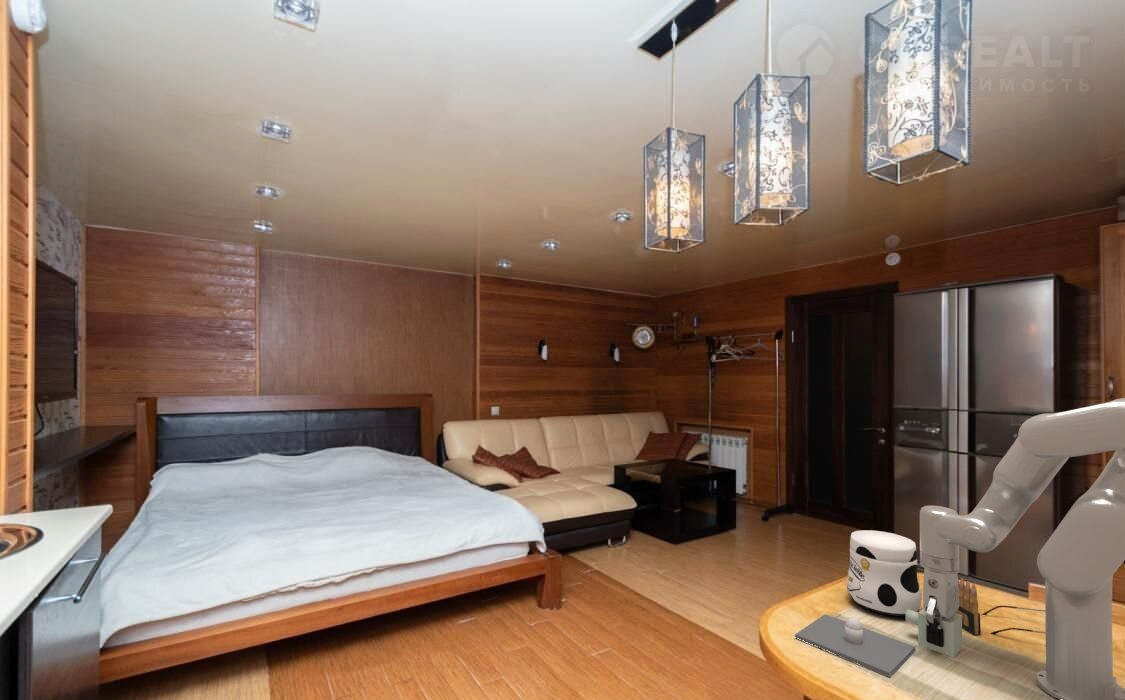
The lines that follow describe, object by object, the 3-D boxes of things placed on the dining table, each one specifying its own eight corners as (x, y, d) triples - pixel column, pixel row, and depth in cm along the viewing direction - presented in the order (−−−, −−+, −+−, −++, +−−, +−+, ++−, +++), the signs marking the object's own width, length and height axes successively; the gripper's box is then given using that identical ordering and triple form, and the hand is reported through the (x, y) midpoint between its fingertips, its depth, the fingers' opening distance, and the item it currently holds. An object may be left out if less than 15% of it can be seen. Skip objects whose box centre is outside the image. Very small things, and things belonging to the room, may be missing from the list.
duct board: (915, 651, 120) (915, 624, 120) (889, 677, 109) (889, 648, 110) (825, 617, 135) (825, 594, 135) (795, 638, 125) (795, 612, 125)
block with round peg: (962, 647, 122) (961, 614, 122) (953, 657, 117) (953, 624, 117) (912, 630, 129) (912, 599, 129) (902, 639, 125) (902, 607, 125)
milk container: (832, 597, 147) (831, 532, 147) (876, 588, 153) (876, 526, 154) (890, 626, 131) (889, 553, 131) (937, 615, 137) (936, 545, 137)
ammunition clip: (981, 635, 127) (980, 585, 127) (973, 635, 127) (973, 585, 127) (946, 614, 138) (945, 568, 138) (939, 614, 138) (939, 568, 138)
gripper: (948, 575, 114) (948, 659, 114) (969, 557, 125) (969, 633, 125) (908, 565, 120) (908, 644, 119) (932, 548, 131) (932, 621, 130)
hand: (940, 638), depth 122 cm, fingers closed on block with round peg, 6 cm apart
